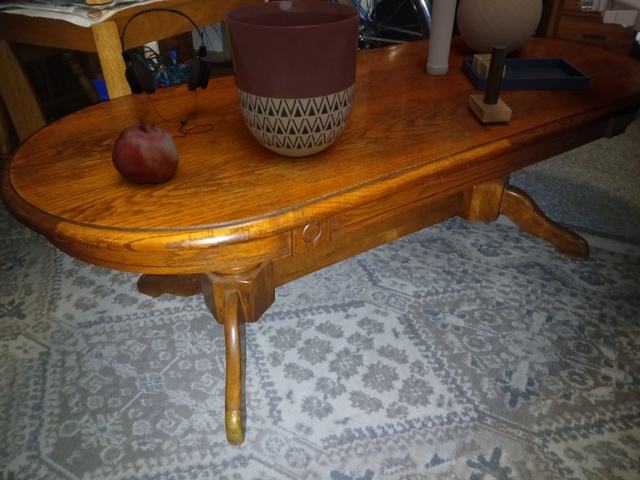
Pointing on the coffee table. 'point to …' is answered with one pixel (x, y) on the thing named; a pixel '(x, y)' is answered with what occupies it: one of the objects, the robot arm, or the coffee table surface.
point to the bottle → (440, 36)
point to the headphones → (143, 80)
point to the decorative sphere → (497, 23)
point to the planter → (294, 71)
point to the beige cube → (485, 69)
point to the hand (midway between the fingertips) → (590, 10)
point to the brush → (492, 93)
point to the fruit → (145, 154)
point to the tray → (533, 75)
